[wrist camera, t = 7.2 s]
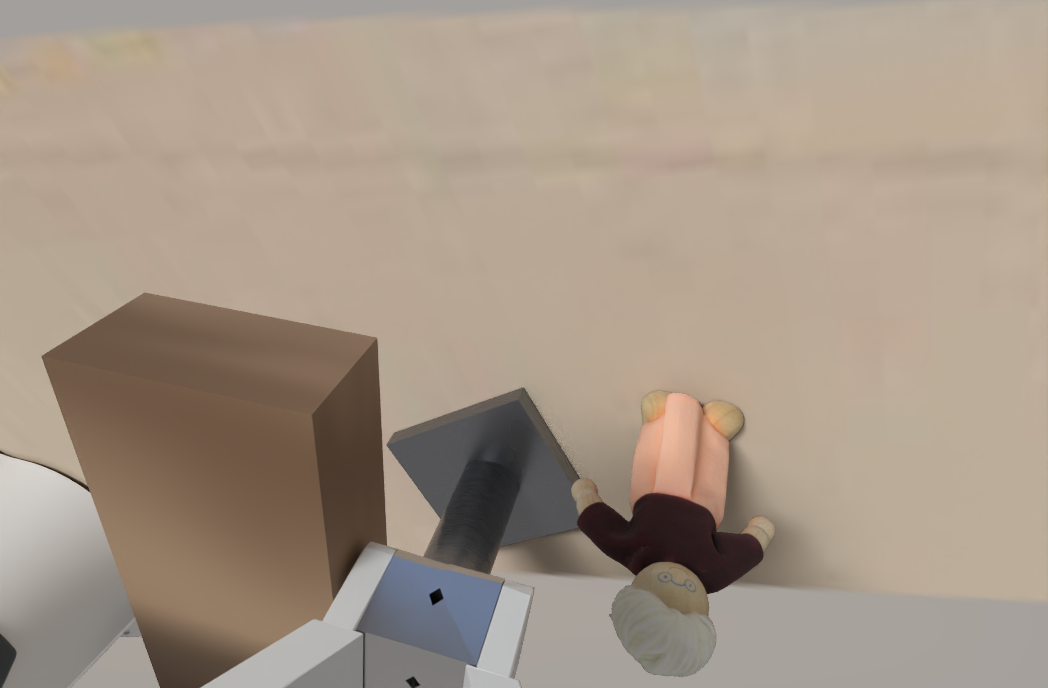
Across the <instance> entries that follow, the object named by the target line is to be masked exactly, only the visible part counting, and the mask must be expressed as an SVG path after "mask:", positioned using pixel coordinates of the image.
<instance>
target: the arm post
mask: <svg viewBox="0 0 1048 688" xmlns="http://www.w3.org/2000/svg"><path fill="white" fill-rule="evenodd" d="M387 447H388V448H389V449H390V451H391V452H392V453H393V455H394V456H395V457H396V459H397V460H398V462H399V463H400V464H401V466H402V467H403V468H404V470H405V471H406V472H407V474H408V475H409V477H410V478H411V479H412V481H413V482H414V483H415V485H416V486H417V487H418V489H419V490H420V492H421V493H422V494H423V496H424V497H425V498H426V500H427V501H428V502H429V504H430V505H431V507H432V508H433V509H434V511H435V512H436V513H437V515H438V516H439V517H440V519H441V520H440V522H439V524H438V526H437V528H436V530H435V533H434V535H433V537H432V539H431V541H430V543H429V545H428V547H427V550H426V552H425V554H424V556H423V557H425V558H428V559H431V560H434V561H438V562H441V563H444V564H447V565H449V564H451V565H455V566H459V567H463V568H467V569H470V570H474V571H478V572H482V573H485V574H489V575H490V573H491V570H492V567H493V564H494V562H495V559H496V556H497V553H498V550H499V547H500V546H505V545H509V544H513V543H517V542H521V541H526V540H530V539H534V538H538V537H543V536H547V535H551V534H555V533H560V532H564V531H568V530H572V529H576V528H579V527H578V526H577V520H578V518H579V514H578V510H577V506H576V504H577V502H576V501H575V500H574V498H573V496H572V493H571V488H572V486H573V484H574V483H575V482H576V481H577V480H579V477H578V475H577V474H576V472H575V471H574V469H573V467H572V466H571V464H570V462H569V461H568V459H567V458H566V456H565V454H564V453H563V451H562V450H561V448H560V446H559V445H558V443H557V441H556V440H555V438H554V437H553V435H552V433H551V432H550V430H549V428H548V427H547V425H546V424H545V422H544V420H543V419H542V417H541V415H540V414H539V412H538V411H537V409H536V407H535V406H534V404H533V402H532V401H531V399H530V398H529V396H528V394H527V393H526V391H525V389H524V388H521V389H518V390H515V391H512V392H509V393H507V394H504V395H501V396H498V397H495V398H492V399H489V400H487V401H484V402H481V403H478V404H475V405H472V406H470V407H467V408H464V409H461V410H458V411H455V412H452V413H450V414H447V415H444V416H441V417H438V418H435V419H433V420H430V421H427V422H424V423H421V424H418V425H415V426H413V427H410V428H407V429H404V430H401V431H398V432H396V433H394V434H393V435H392V437H391V438H390V440H389V442H388V443H387Z"/></svg>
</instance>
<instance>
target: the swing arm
mask: <svg viewBox="0 0 1048 688" xmlns="http://www.w3.org/2000/svg"><path fill="white" fill-rule="evenodd" d="M42 359H43V362H44V365H45V368H46V370H47V373H48V376H49V379H50V381H51V384H52V387H53V390H54V393H55V395H56V398H57V401H58V404H59V407H60V409H61V412H62V415H63V418H64V421H65V423H66V426H67V429H68V432H69V435H70V437H71V440H72V443H73V446H74V448H75V451H76V454H77V457H78V460H79V462H80V465H81V468H82V471H83V474H84V476H85V479H86V482H87V485H88V488H89V490H90V493H91V496H92V499H93V502H94V504H95V507H96V510H97V513H98V515H99V518H100V521H101V524H102V527H103V529H104V532H105V535H106V538H107V541H108V543H109V546H110V549H111V552H112V555H113V557H114V560H115V563H116V566H117V569H118V571H119V574H120V577H121V580H122V582H123V585H124V588H125V591H126V594H127V596H128V599H129V602H130V605H131V608H132V610H133V613H134V616H135V619H136V622H137V624H138V627H139V630H140V633H141V635H142V638H143V641H144V643H145V647H146V649H147V652H148V655H149V658H150V660H151V663H152V666H153V669H154V672H155V674H156V677H157V680H158V683H159V686H160V688H201V687H202V686H204V685H206V684H207V683H209V682H210V681H212V680H214V679H215V678H217V677H219V676H220V675H222V674H224V673H225V672H227V671H229V670H230V669H232V668H234V667H235V666H237V665H238V664H240V663H242V662H243V661H245V660H247V659H248V658H250V657H252V656H253V655H255V654H257V653H258V652H260V651H261V650H263V649H265V648H266V647H268V646H270V645H271V644H273V643H275V642H276V641H278V640H280V639H281V638H283V637H285V636H286V635H288V634H289V633H291V632H293V631H294V630H296V629H298V628H299V627H301V626H303V625H304V624H306V623H308V622H309V621H311V620H313V619H318V620H321V621H322V620H323V619H324V617H325V615H326V613H327V612H328V610H329V608H330V606H331V605H332V603H333V601H334V599H335V598H336V596H337V594H338V592H339V591H340V589H341V587H342V585H343V584H344V582H345V580H346V578H347V577H348V575H349V573H350V571H351V570H352V568H353V566H354V564H355V563H356V561H357V559H358V557H359V556H360V554H361V552H362V550H363V549H364V548H365V547H366V546H367V545H368V544H369V543H370V542H371V541H372V542H375V543H379V544H382V545H386V546H387V536H386V515H385V493H384V472H383V451H382V429H381V408H380V387H379V365H378V344H377V338H376V337H370V336H365V335H360V334H355V333H350V332H345V331H340V330H334V329H329V328H324V327H319V326H314V325H309V324H304V323H298V322H293V321H288V320H283V319H278V318H273V317H268V316H262V315H257V314H252V313H247V312H242V311H237V310H232V309H226V308H221V307H216V306H211V305H206V304H201V303H196V302H190V301H185V300H180V299H175V298H170V297H165V296H159V295H154V294H149V293H143V294H142V295H140V296H138V297H137V298H135V299H134V300H132V301H130V302H129V303H127V304H125V305H124V306H122V307H121V308H119V309H117V310H116V311H114V312H112V313H111V314H109V315H108V316H106V317H104V318H103V319H101V320H99V321H98V322H96V323H94V324H93V325H91V326H90V327H88V328H86V329H85V330H83V331H81V332H80V333H78V334H77V335H75V336H73V337H72V338H70V339H68V340H67V341H65V342H64V343H62V344H60V345H59V346H57V347H55V348H54V349H52V350H51V351H49V352H47V353H46V354H44V355H42Z"/></svg>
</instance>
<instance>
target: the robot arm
mask: <svg viewBox="0 0 1048 688" xmlns="http://www.w3.org/2000/svg"><path fill="white" fill-rule="evenodd" d="M533 594H534V588H533V587H530V586H526V585H523V584H519V583H515V582H512V581H508V580H505V579H504V578H500V577H497V576H493V575H489V574H485V573H482V572H478V571H474V570H470V569H467V568H463V567H459V566H455V565H451V564H449V565H447V564H444V563H441V562H438V561H434V560H431V559H428V558H425V557H422V556H418V555H415V554H412V553H409V552H406V551H402V550H399V549H396V548H392V547H389V546H386V545H382V544H379V543H375V542H372V541H371V542H370V543H369V544H368V545H367V546H366V547H365V548H364V549H363V550H362V552H361V554H360V556H359V557H358V559H357V561H356V563H355V564H354V566H353V568H352V570H351V571H350V573H349V575H348V577H347V578H346V580H345V582H344V584H343V585H342V587H341V589H340V591H339V592H338V594H337V596H336V598H335V599H334V601H333V603H332V605H331V606H330V608H329V610H328V612H327V613H326V615H325V617H324V619H323V620H322V621H321V620H318V619H313V620H311V621H309V622H308V623H306V624H304V625H303V626H301V627H299V628H298V629H296V630H294V631H293V632H291V633H289V634H288V635H286V636H285V637H283V638H281V639H280V640H278V641H276V642H275V643H273V644H271V645H270V646H268V647H266V648H265V649H263V650H261V651H260V652H258V653H257V654H255V655H253V656H252V657H250V658H248V659H247V660H245V661H243V662H242V663H240V664H238V665H237V666H235V667H234V668H232V669H230V670H229V671H227V672H225V673H224V674H222V675H220V676H219V677H217V678H215V679H214V680H212V681H210V682H209V683H207V684H206V685H204V686H202V687H201V688H522V687H521V683H520V681H519V680H516V679H514V678H515V674H516V670H517V666H518V663H519V658H520V654H521V649H522V645H523V640H524V636H525V631H526V627H527V622H528V617H529V613H530V608H531V604H532V599H533ZM138 636H142V635H141V633H140V630H139V627H138V624H137V622H136V619H135V616H134V613H133V610H132V608H131V605H130V602H129V599H128V596H127V594H126V591H125V588H124V585H123V582H122V580H121V577H120V574H119V571H118V569H117V566H116V563H115V560H114V557H113V555H112V552H111V549H110V546H109V543H108V541H107V538H106V535H105V532H104V529H103V527H102V524H101V521H100V518H99V515H98V513H97V510H96V507H95V504H94V502H93V499H92V496H91V493H90V492H89V491H87V490H86V489H84V488H83V487H81V486H80V485H78V484H77V483H75V482H73V481H72V480H70V479H68V478H66V477H65V476H63V475H61V474H59V473H57V472H55V471H52V470H50V469H48V468H45V467H43V466H40V465H37V464H35V463H31V462H28V461H24V460H20V459H16V458H12V457H9V456H6V455H3V454H0V688H71V687H72V686H73V685H74V684H75V683H76V682H77V681H78V680H79V679H80V678H81V677H82V676H83V675H84V674H85V673H86V672H87V670H88V669H89V668H90V667H91V666H92V665H93V664H94V663H95V662H96V661H97V660H98V659H99V658H100V657H101V656H102V655H103V654H104V653H105V652H106V651H107V650H108V648H109V647H110V646H111V645H112V644H113V643H114V642H115V641H116V640H117V639H118V638H119V637H138Z"/></svg>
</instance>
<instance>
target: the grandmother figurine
mask: <svg viewBox="0 0 1048 688" xmlns="http://www.w3.org/2000/svg"><path fill="white" fill-rule="evenodd" d="M641 410H642V421H643V426H642V428H641V431H640V435H639V439H638V443H637V446H636V451H635V454H634V459H633V466H632V476H631V484H630V504H631V510H632V514H633V517H632V519H631V521H629V522H628V521H627V520H625V519H624V518H623V517H622V516H621V515H620V514H619V513H617V512H616V511H615V510H614V509H612V508H611V507H610V506H608V505H606V504H605V503H603V501H602V499H601V498H600V497H599V496H598V490H597V487H596V485H595V484H594V482H593V481H591V480H590V479H587V478H581V479H579V480H577V481H576V482H575V483H574V484H573V486H572V488H571V493H572V496H573V498H574V500H575V501H576V502H577V504H576V506H577V510H578V514H579V518H578V520H577V526H578V527H579V528H580V530H581V531H582V532H583V533H585V534H586V535H587V536H588V537H589V538H590V539H591V540H592V542H593V543H594V544H595V545H596V546H597V547H598V548H599V549H600V550H601V551H602V552H603V553H605V554H606V555H607V556H609V557H610V558H612V559H614V560H615V561H617V562H619V563H621V564H622V565H624V566H625V567H626V568H628V569H629V570H630V571H631V572H632V573H633V574H634V575H636V577H635V579H634V581H633V582H632V584H631V585H629V586H625V588H624V589H622V590H621V591H620V592H619V593H618V594H617V596H616V598H615V601H614V602H613V604H612V614H610V615H609V616H610V617H611V619H612V621H613V624H614V627H615V630H616V633H617V636H618V637H619V639H620V640H621V642H622V644H623V646H624V647H625V649H626V650H627V652H628V653H629V654H631V655H632V656H633V657H634V658H635V660H637V661H638V662H639V663H640V664H641V665H642V667H643V668H644V669H645V670H646V671H647V672H648V673H651V674H654V675H663V676H679V677H680V676H681V677H683V676H689V675H692V674H694V673H696V672H697V671H699V670H700V669H701V668H702V667H703V666H704V665H705V664H706V663H707V662H708V661H709V659H710V657H711V655H712V653H713V651H714V648H715V645H716V632H715V628H714V625H713V623H712V621H711V620H710V619H709V617H708V611H709V603H708V597H707V594H710V593H714V592H718V591H719V590H721V589H723V588H725V587H727V586H728V585H730V584H731V583H733V582H734V581H736V580H737V579H739V578H740V577H742V576H743V575H744V574H746V573H747V572H748V571H750V570H751V569H752V568H753V567H755V566H756V565H758V564H759V563H760V562H761V560H762V559H763V553H764V551H765V550H766V549H767V546H768V544H769V542H770V541H771V540H772V539H773V537H774V535H775V527H774V524H773V523H772V522H771V520H769V519H768V518H766V517H762V516H757V517H754V518H752V519H751V520H750V521H749V523H748V525H747V527H746V528H745V529H744V530H743V531H742V532H741V534H733V533H723V532H716V531H717V529H718V527H719V526H720V524H721V522H722V519H723V516H724V510H725V502H726V492H727V476H728V467H729V440H731V439H732V438H733V437H734V436H735V435H736V434H737V433H738V432H739V430H740V429H741V428H742V426H743V423H744V417H743V414H742V412H741V411H740V409H738V408H737V407H736V406H734V405H732V404H730V403H727V402H723V401H714V402H710V403H708V404H706V405H705V406H703V407H702V408H701V405H700V403H699V402H698V401H697V400H696V399H694V398H692V397H690V396H689V395H686V394H682V393H671V392H665V391H655V392H652V393H649V394H648V395H646V396H645V398H644V399H643V401H642V405H641Z"/></svg>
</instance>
